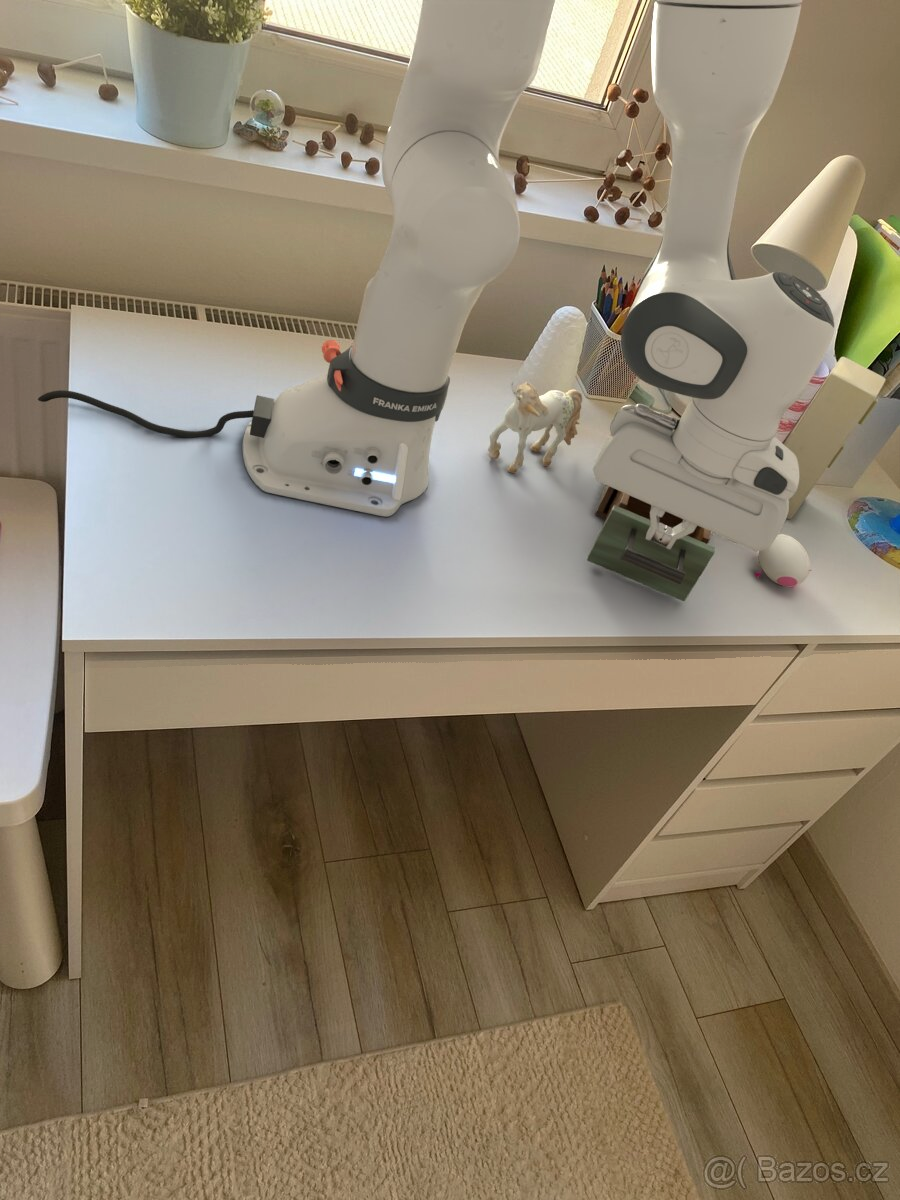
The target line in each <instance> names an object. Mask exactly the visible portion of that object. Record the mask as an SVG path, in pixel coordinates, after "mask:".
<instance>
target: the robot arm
mask: <svg viewBox="0 0 900 1200" xmlns="http://www.w3.org/2000/svg"><path fill="white" fill-rule="evenodd" d="M556 2H557V0H422V1H421V3H422V4H421V10H420V13H419V18H418V19H419V20H418V25H417V30H416V35H415V40H414V44H413V49H412V52H411V55H410V59H409V63H408V66H407V69H406V72H405V75H404V78H403V81H402V83H401V87H400V91H399V95H398V97H397V101H396V104H395V108H394V111H393V115H392V119H391V121H390V126H389V128H388V129H387V132H386V135H385V138H384V144H383V149H382V157H381V160H382V161H381V174H382V175H381V176H382V179H383V180H382V181H383V184H384V188H385V190H386V192H387V196H388V198H389V201H390V204H391V209H392V226H391V227H392V228H391V233H390V237H389V240H388V244H387V248H386V250H385V253H384V255H383V257H382V259H381V262H380V264H379V266H378V268H377V271H376V272H375V275H374V276H372V278H370V280H368V283H367V284H366V286H365V290H364V294H363V298H362V302H361V307H360V310H359V316H358V319H357V323H356V329H355V333H354V337H353V342H352V344H351V345H350V346H349V347H348V348H347V349H346V350H345V351H343V352H341V348H340V345H339V342H337V341H336V340H334V339H328V340H325V342H323V343H322V345H321V352H322V357H323V360H324V361H325V362H326V363H328V364H329V366H328V370H327V374H324V375H321V376H319V377H316V378H314V379H312V380H310V381H307V382H304V383H302V384H299V385H297V386H294V387H291V388H288V389H286V390H284V391H282V392H281V393H280V394H279V395H278V396H277V398H272V397H267V396H263V395H259V394H258V395H256V397H255V402H254V407H253V409H252V410H239V411H232V412H229V413H226V414H224V415H222V416H221V417H220V418H219V419H218V421H217V423H216V425H215V426H214V427H211V428H208V429H203V430H196V431H195V430H183V429H177V428H173V427H168V426H163V425H159V424H156V423H153V422H151V421H149V420H147V419H144V418H142V417H141V416H139V415H137V414H135V413H133V412H132V411H129V410H127V409H124V408H122V407H119V406H115V405H114V404H113V405H112V404H110V403H107V402H105V401H103V400H100V399H97V398H94V397H92V396H89V395H86V394H83V393H80V392H77V391H72V390H66V389H65V390H62V389H61V390H60V389H59V390H52V391H48V392H45V393H43V394H42V395H40V396H39V397H38V398H37V401H39V402H41V403H45V402H49V401H51V400H55V399H71V400H76V401H79V402H83V403H86V404H88V405H91V406H93V407H96V408H99V409H101V410H103V411H107V412H109V413H112V414H115V415H118V416H121V417H123V418H126V419H128V420H130V421H131V422H134V423H136V424H138V426H139V425H140V426H141V427H143V428H145V429H147V430H150V431H152V432H156V433H159V434H163V435H169V436H172V437H179V438H185V439H195V438H196V439H197V438H207V437H211V436H214V435H217V434H219V433H221V432H222V430H224V427H225V425H226V424H227V422H230V421H231V420H236V419H237V420H238V419H247V418H248V419H250V418H251V420H250V421H249V423H248V425H247V426H246V428H245V431H244V433H243V434H244V435H243V438H242V457H243V463H244V467H245V469H246V471H247V473H248V475H249V477H250V480H252V481H253V483H254V484H255V485H256V486H257V487H258V488H259V489H260V490H261V491H263V492H265V493H269V494H273V495H278V496H282V497H287V498H292V499H297V500H301V501H307V502H311V503H315V504H321V505H326V506H331V507H336V508H340V509H346V510H349V511H355V512H360V513H364V514H370V515H374V516H379V517H391V516H393V515H394V514H395V513H396V512H397V511H398V509H399V508H400V507H401V506H402V505H403V504H405V503H407V502H410V501H412V500H414V499H415V500H416V499H417V498H418V497H420V496H421V495H422V494H423V493H424V492H425V491H426V490H427V488H428V486H429V483H430V454H431V446H432V441H433V434H434V429H435V424H436V422H437V421H439V418H440V415H441V413H442V411H443V409H444V406H445V404H446V401H447V396H448V392H449V386H450V382H451V378H450V376H449V374H450V371H451V368H452V365H453V362H454V359H455V355H456V353H457V349H458V346H459V344H460V340H461V337H462V334H463V330H464V327H465V325H466V323H467V320H468V318H469V316H470V314H471V311H472V309H473V308H474V307H475V305H476V303H477V301H478V299H479V298H480V296H481V294H482V293H483V291H484V289H485V287H486V286H487V284H489V283H491V282H492V281H494V280H495V279H497V278H498V277H499V276H501V275H502V274H503V273H504V272H505V271H506V270H507V268H509V266H510V264H511V263H512V262H513V259H514V258H515V255H516V254H517V251H518V249H519V244H520V239H521V225H520V223H521V222H520V213H519V208H518V202H517V197H516V193H515V190H514V187H513V186H512V183H511V182H510V180H509V179H508V176H507V175H506V173H505V172H504V170H503V169H502V167H501V165H500V158H499V157H500V146H501V142H502V138H503V135H504V133H505V130H506V128H507V125H508V123H509V121H510V118H511V116H512V114H513V112H514V110H515V108H516V105H517V103H518V102H519V100H520V98H521V96H522V94H523V92H524V91H526V89H527V88H528V87H530V85H531V84H532V83H533V81H534V79H535V77H536V75H537V73H538V69H539V66H540V62H541V59H542V55H543V51H544V47H545V44H546V40H547V35H548V32H549V29H550V24H551V22H552V21H551V20H552V17H553V13H554V9H555V5H556ZM801 3H803V0H656V1H655V2H654V8H653V18H652V28H651V80H652V81H651V82H652V93H653V94H652V96H653V99H654V102H655V104H656V106H657V108H658V110H659V112H660V114H661V115H662V117H663V119H664V121H665V123H666V126H667V128H668V132H669V135H670V141H671V148H672V149H671V152H672V154H671V155H672V156H671V158H672V159H671V160H672V161H671V173H670V180H669V188H668V195H667V203H666V212H665V220H664V228H663V235H662V238H661V242H660V245H659V248H658V250H657V252H656V253H655V255H654V257H653V258H652V260H651V261H650V263H649V264H648V266H647V268H646V269H645V272H644V273H643V275H642V277H641V280H640V281H639V286H638V289H637V292H636V296H635V298H634V301H633V303H632V304H631V307H630V309H629V311H628V313H627V316H626V318H625V320H624V322H623V324H622V329H621V334H620V348H621V352H622V356H623V358H624V361H625V363H626V365H627V367H628V368H629V369H630V370H631V371H632V373H633V374H634V375H635V377H637V378H638V379H639V380H641V381H643V382H644V383H646V384H648V385H651V386H653V387H655V388H659V389H661V390H665V391H667V392H672V393H674V394H678V395H682V396H686V397H689V398H690V400H689V402H688V403H687V405H686V407H685V409H684V410H683V412H682V414H681V416H680V418H678V419H677V418H675V417H672V416H670V415H668V414H666V413H663V412H660V411H656V410H654V409H652V408H651V407H649V406H647V405H645V404H642V403H637V404H635V405H634V404H627V405H624V406H622V407H620V408H619V409H618V410H617V411H616V413H615V415H614V417H613V419H612V420H611V423H610V425H609V430H610V435H609V437H608V438H607V440H606V441H605V442H604V444H603V446H602V447H601V449H600V451H599V453H598V455H597V457H596V459H595V460H594V461H595V462H594V464H593V467H592V472H593V476H594V479H595V480H596V481H597V483H598V482H599V483H601V484H603V485H604V484H605V485H607V486H610V487H612V488H614V489H616V490H619V491H621V492H623V493H625V494H628V495H630V496H632V497H634V498H637V499H639V500H641V501H643V502H646V503H648V504H650V505H651V509H650V520H651V526H650V527H649V529H648V532H647V534H646V539H647V540H649V541H651V542H654V543H656V544H658V545H661V546H663V547H665V548H667V549H671V547H672V546H673V544H674V543H675V541H676V539H680V538H682V537H684V536H686V535H688V534H690V533H692V532H694V530H695V528H696V527H697V525H698V526H700V527H702V528H704V529H707V530H709V531H711V533H713V534H716V535H718V536H720V537H723V538H725V539H728V540H729V541H731V542H734V543H736V544H738V545H740V546H743V547H745V548H747V549H750V550H752V551H753V552H759V551H761V550H764V549H767V548H769V547H770V546H771V544H772V543H773V542H774V540H775V538H776V537H777V535H778V534H780V532H781V530H782V529H783V526H784V524H785V522H786V521H787V519H788V518H787V515H788V511H789V498H791V497H792V496H793V495H794V494H795V492H796V491H797V488H798V484H799V465H798V460H797V457H796V456H795V454H794V453H793V452H792V451H790V450H789V449H788V448H787V447H786V446H785V445H784V443H783V442H782V441H780V440H779V439H778V438H777V437H776V435H777V433H778V430H779V428H780V425H781V424H780V423H781V421H782V419H783V416H784V414H786V412H787V410H789V408H790V407H792V406H793V405H794V404H795V403H796V402H797V401H798V400H799V399H800V397H801V396H802V395H803V393H804V392H805V390H806V388H807V386H808V385H809V383H810V382H811V380H812V378H813V377H814V375H815V374H816V372H817V370H818V369H819V367H820V365H821V363H822V361H823V359H824V357H825V355H826V353H827V351H828V349H829V347H830V344H831V342H832V339H833V338H834V333H835V318H834V314H833V312H832V309H831V307H830V304H829V303H828V302H827V301H826V299H824V298H823V296H822V295H821V294H820V293H819V292H818V291H817V290H816V289H815V288H813V287H812V286H811V285H809V284H808V283H807V282H805V281H804V280H802V279H801V278H799V277H797V276H795V275H792V274H789V273H786V272H783V271H772V272H770V273H768V274H765V275H761V276H756V277H749V278H742V279H737V278H736V274H735V271H734V266H733V263H732V259H731V254H730V249H729V245H730V244H729V243H730V234H731V233H730V232H731V227H732V226H731V225H732V222H733V215H734V209H735V203H736V198H737V191H738V186H739V182H740V181H739V180H740V175H741V169H742V165H743V161H744V158H745V155H746V152H747V148H748V146H749V144H750V141H751V139H752V137H753V135H754V133H755V131H756V130H757V127H758V126H759V124H760V122H761V121H762V119H764V116H765V115H766V114H767V112H768V111H769V109H770V108H771V106H772V103H773V102H774V99H775V97H776V94H777V91H778V89H779V86H780V84H781V82H782V78H783V75H784V73H785V71H786V70H785V69H786V67H787V63H788V61H789V57H790V54H791V50H792V47H793V44H794V40H795V36H796V32H797V29H798V24H799V19H800V16H801V10H802V4H801ZM673 429H674V430H673ZM665 511H666V512H668V513H671V514H673V515H675V516H677V517H680V518H682V519H683V522H682V523H680V524H679V525H677V526H675V527H673V528H671V527H669V526H667V525H664V524H662V523H660V522H659V517H662V516H663V515H664V513H665Z"/></svg>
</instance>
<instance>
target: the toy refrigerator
mask: <svg viewBox="0 0 900 1200" xmlns="http://www.w3.org/2000/svg"><path fill="white" fill-rule="evenodd" d="M885 383H886V378H885V377H884V376H882V375H880V374H878V373H877V372H875V371H873V370H871V369H870V368H868V367H865V366H863V365H861V364H859V363H857V362H856V361H853V360H852V359H850V358H847V357H845V356H841V357H840V358H839V359H838V361H837V362H836V364H835V365H834V366H833V368H832V370H830V372H829V374H828V376H827V377H826V378H825V380H824V382H823V383H822V385H821V386H820V388H819V390H818V391H817V392H816V394H815V396H814V397H813V399H812V400H811V402H810V403H809V405H808V406H807V407H806V409H805V411H804V413H803V414H802V415H801V417H800V419H799V421H797V423H796V425H795V427H794V428H793V430H792V431H791V433H790V434H789V435H788V437H787V439H786V441H785V442H784V443H783V444H784V445H785V446H786V447H787V448H788V449H789V450H790V451H792V452H793V453H794V454H795V456H796V457H797V460H798V465H799V484H798V488H797V491H796V492H795V494H794V495H793V496H792V497H791V498H789V511H788V515H787V518H786V519H788V520H791V519H793V517H794V515H795V514H796V513H797V512H798V510H799V509H800V507H801V505H802V504H803V503H804V501H805V500H806V498H807V497H808V496H809V494H810V493H811V491H812V490H813V488H814V487H815V486H816V485H817V483H818V482H819V480H820V478H821V477H822V476H823V475H824V472H826V470H827V469H830V468H831V466H832V465H833V464H834V462H835V461H836V460H837V458H838V457H839V455H840V454H841V453H842V451H843V450H844V449H845V447H846V444H845V443H846V441H847V440H848V438H849V437H850V435H851V434H852V433H853V431H854V430H855V429H856V427H857V426H858V424H859V425H863V424H864V422H865V420H866V419H867V418H868V416H869V415H870V414H871V412H872V411H873V409H874V408H875V406H876V405H877V404H878V403H879V399H878V398H877V397H878V395H879V394H880V392H881V390H882V388H883V386H884V384H885Z"/></svg>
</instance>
